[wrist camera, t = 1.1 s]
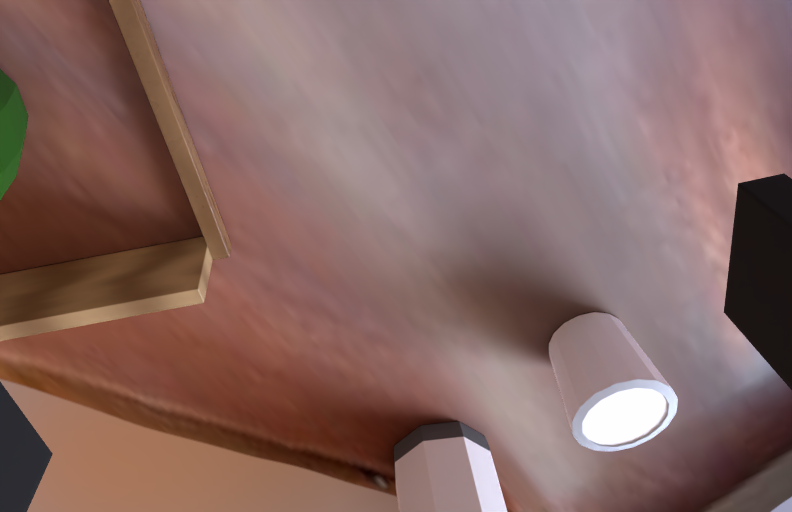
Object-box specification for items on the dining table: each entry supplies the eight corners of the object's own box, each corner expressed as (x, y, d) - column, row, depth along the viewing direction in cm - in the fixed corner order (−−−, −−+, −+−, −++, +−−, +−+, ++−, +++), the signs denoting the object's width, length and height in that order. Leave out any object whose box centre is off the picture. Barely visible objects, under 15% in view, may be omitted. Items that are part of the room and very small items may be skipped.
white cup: (533, 378, 48) (563, 457, 42) (547, 308, 44) (582, 385, 38) (622, 371, 49) (663, 448, 43) (643, 301, 45) (692, 376, 39)
